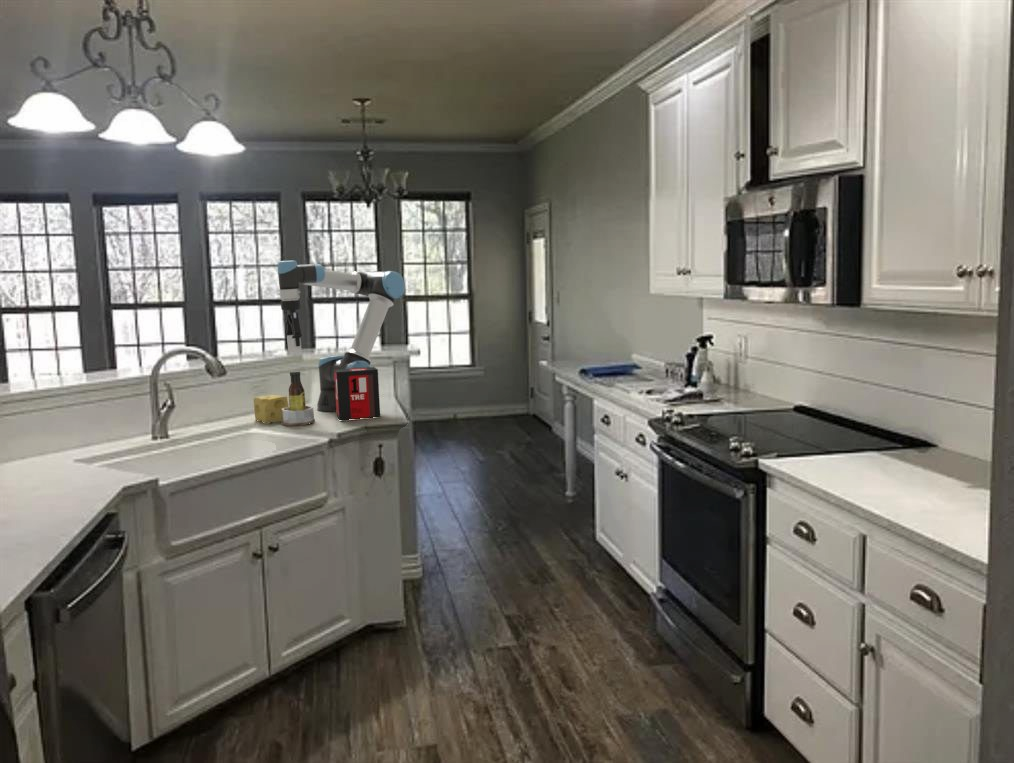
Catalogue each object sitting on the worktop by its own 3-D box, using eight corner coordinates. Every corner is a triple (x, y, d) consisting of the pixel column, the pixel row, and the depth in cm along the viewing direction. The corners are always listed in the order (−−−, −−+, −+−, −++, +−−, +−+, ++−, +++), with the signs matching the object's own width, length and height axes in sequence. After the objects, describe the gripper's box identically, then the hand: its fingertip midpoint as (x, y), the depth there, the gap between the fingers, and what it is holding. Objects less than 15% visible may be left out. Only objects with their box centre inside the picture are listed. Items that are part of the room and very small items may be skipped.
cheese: (265, 424, 346) (263, 399, 344) (253, 420, 354) (252, 396, 352) (289, 420, 353) (287, 396, 351) (277, 417, 361) (275, 393, 359)
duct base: (311, 418, 354) (311, 416, 354) (317, 423, 342) (317, 421, 342) (279, 421, 349) (279, 419, 349) (284, 427, 337) (284, 424, 337)
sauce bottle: (307, 421, 343) (304, 371, 340) (292, 422, 341) (288, 373, 338) (304, 418, 349) (301, 370, 346) (289, 420, 347) (286, 371, 344)
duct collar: (310, 416, 353) (310, 404, 352) (316, 421, 342) (315, 409, 341) (280, 419, 348) (279, 407, 348) (285, 424, 337) (284, 412, 337)
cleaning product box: (339, 421, 346) (336, 372, 343) (336, 417, 354) (333, 369, 351) (380, 417, 351) (377, 369, 348) (376, 414, 359) (374, 367, 356)
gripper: (306, 300, 331) (310, 354, 335) (293, 297, 354) (298, 349, 357) (286, 301, 328) (291, 356, 332) (275, 299, 351) (279, 350, 354)
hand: (294, 352), depth 345 cm, fingers open, 13 cm apart
